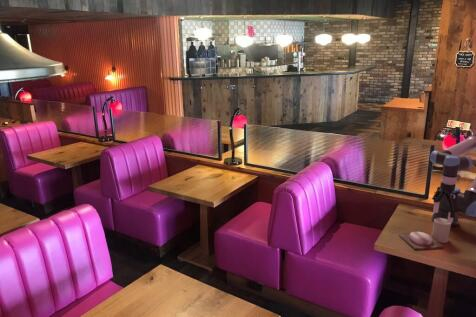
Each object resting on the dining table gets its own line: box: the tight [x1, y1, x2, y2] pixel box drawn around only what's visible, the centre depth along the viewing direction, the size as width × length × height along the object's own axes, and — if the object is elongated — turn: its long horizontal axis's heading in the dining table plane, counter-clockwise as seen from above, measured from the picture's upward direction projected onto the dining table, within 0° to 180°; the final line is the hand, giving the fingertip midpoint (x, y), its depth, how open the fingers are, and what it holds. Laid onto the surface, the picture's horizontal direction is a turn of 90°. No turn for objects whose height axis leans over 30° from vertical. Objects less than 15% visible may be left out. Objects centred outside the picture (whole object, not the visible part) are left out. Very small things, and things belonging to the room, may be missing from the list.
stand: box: [398, 231, 444, 251], centre depth 230 cm, size 17×17×4 cm
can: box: [431, 218, 452, 244], centre depth 232 cm, size 9×9×12 cm
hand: (442, 217), depth 229 cm, fingers open, 13 cm apart
